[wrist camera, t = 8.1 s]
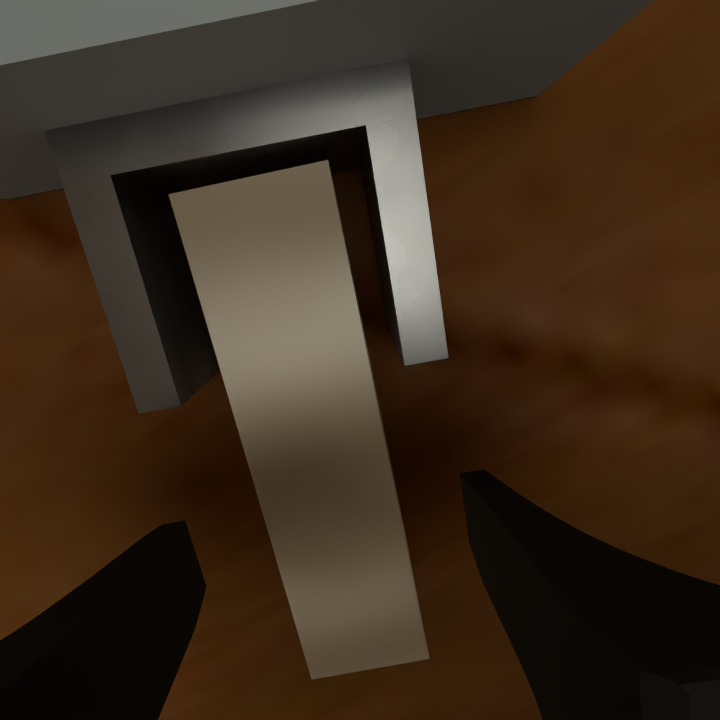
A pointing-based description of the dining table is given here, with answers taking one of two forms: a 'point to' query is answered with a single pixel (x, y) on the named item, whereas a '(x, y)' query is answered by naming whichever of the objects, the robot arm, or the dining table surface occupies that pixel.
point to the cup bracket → (231, 162)
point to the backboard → (268, 56)
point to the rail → (306, 410)
